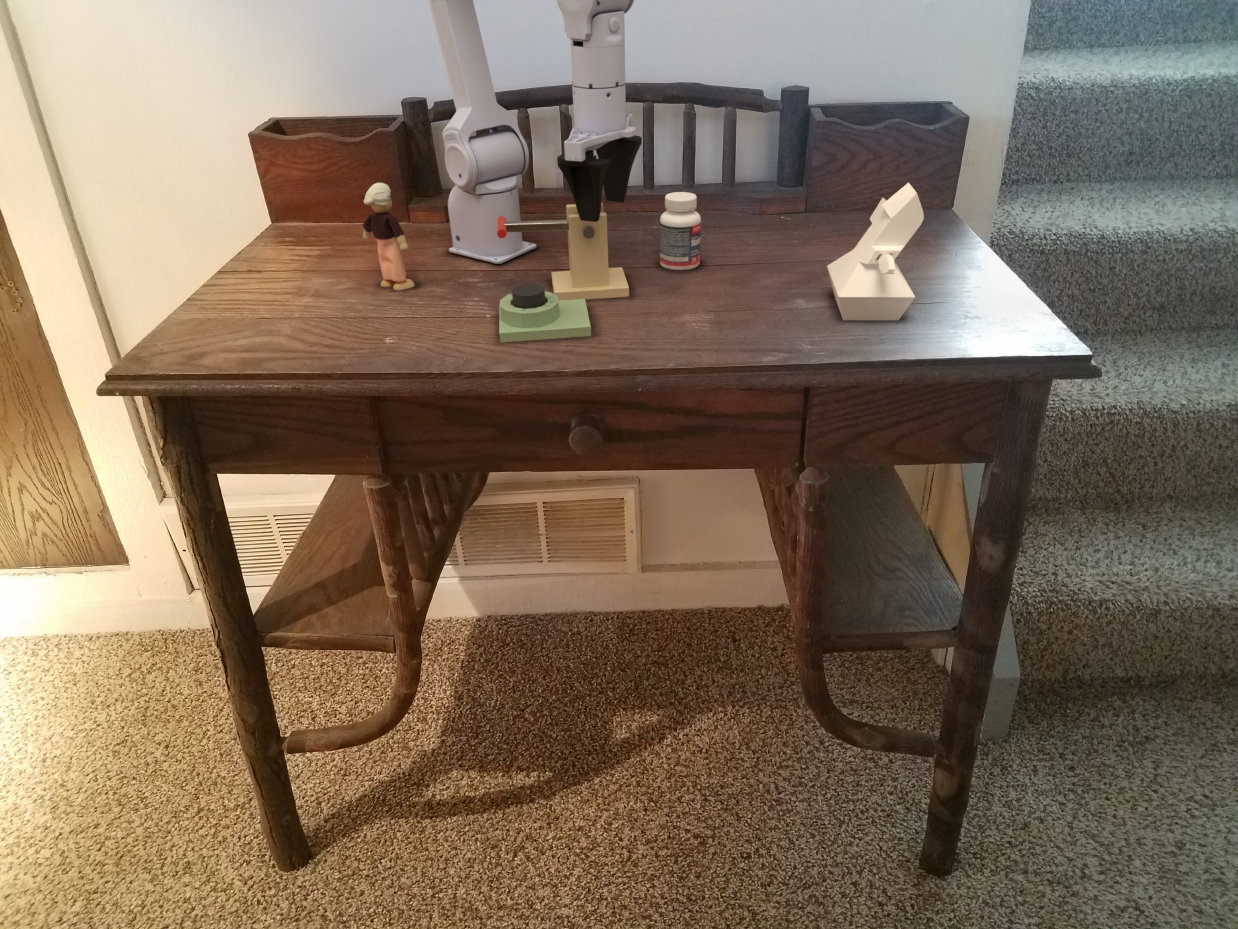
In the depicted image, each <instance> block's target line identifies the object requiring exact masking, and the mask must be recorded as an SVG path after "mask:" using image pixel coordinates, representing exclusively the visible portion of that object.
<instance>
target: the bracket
mask: <svg viewBox="0 0 1238 929" xmlns="http://www.w3.org/2000/svg"><path fill="white" fill-rule="evenodd" d="M565 209H566V210H565V211H566V212H565V213H566V220H569V231H567V243H568V244H567V245H568V247H567V248H568V260H569V261H568V262H569V263H568V264H569V270H560V271H551V272H550V273H551V284H552V291H553V292H552V293H553V294H554V295H556V296H558V301H560V300H575V299H585V300H598V299H599V300H600V299H610V298H611V299H613V298H626V297H630V286H629V284H628V281H627V278H626V274H625V271H624V268H623V267H621V266H620V267H609V242H608V215H607V212H604V203H603V202H601V213H600V217H599V220H598V221H597V222H591V221H582V220H580V217H579V214H574V213H575V212H578V211H577V208H576V204H575V203H571V204H566V205H565Z"/></svg>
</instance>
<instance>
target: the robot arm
mask: <svg viewBox="0 0 1238 929" xmlns="http://www.w3.org/2000/svg"><path fill="white" fill-rule="evenodd" d="M634 1H635V0H556V3H557V6H558V8H559V11H560V12H561V15H562V18H563V22H564V23H563V24H564V32H565V33H566V37H567V38H568V39H569V42H570V44H569V46H570V66H571V67H570V68H571V86H572V89H571V90H572V108H573V109H572V110H573V125H574V126H573V127H572V128H571V131H570V134H569V135H568V136H569V137H568V138H567V139H566V140H564V141H563V148H564V150H563V151H564V152H563V153H561V154H559V155H558V156H557V157H556V159H557V160H556V161H557V167H558V168H559V170H560V171H561V173H562V174H563V176H564V178H565V180H566V182H567V184H568V186H569V188H570V191H571V194H572V196H573V201H574V204H576V208H577V211H578V214H579V217H580V220H582V221H591V222H597V221H598V220H599V217H600V213H601V203H603V202H602V198H603V190H604V196H605V199H606V202H612V203H625V200H626V196H627V192H628V187H629V183H630V182H629V181H630V176H631V172H632V169H633V165H634V162H635V160H636V156H637V154H638V152H639V149H640V147H641V146H642V143H643V140H642V139H643V138H642V136H641V135H637V127H634V114H632V113H627V105H626V104H627V102H626V100H627V99H626V94H627V93H626V89H627V88H626V38H625V37H626V36H625V35H626V33H625V29H626V28H625V14H627V13H628V12H629V11H630V9H631V8H632V7H633V4H634ZM428 4H429V7H430V11H431V15H432V16H431V17H432V19H433V24H434V29H435V32H436V36H437V39H438V40H437V41H438V44H439V48H440V53H441V55H442V59H443V64H444V68H445V72H446V75H447V80H448V83H449V87H450V91H451V96H452V99H453V104H454V107H455V113H454V114H453V115H452V117H451V119H450V120H449V122H448V123H447V124H446V126H445V127H444V129H443V130H442V132H441V134H442V135H441V136H442V139H443V143H444V144H443V145H444V165H445V168H446V172H447V174H448V176H449V178H450V180H451V181H452V182H453V183H454V186H453V187H452V188H451V191H450V193H449V195H448V199H447V211H448V219H449V227H450V233H451V235H450V236H451V242H452V247H450V248H448V252H449V253H450V254H455V255H459V256H464V257H467V258H471V259H475V260H480V261H483V262H486V263H491V264H495V265H501V264H503V263H505V262H508V261H510V260H512V259H515V258H518V257H519V256H521V255H523V254H526V253H528V252H530V251H532V250H535V249H536V248H537V246H538V245H537V243H533V242H528V241H524V240H523V232H507V235H506V237H505V238H499V237H498V235H497V219H498V218H499V217H500V216H503V217H505V218H506V222H507V221H522V220H521V219H522V217H521V208H520V206H521V205H520V197H519V195H520V194H519V185H520V184H523V176H524V175H525V174H526V172H527V171H528V168H529V164H530V153H529V152H530V151H529V147H528V144H527V141H526V140H525V138H524V137H523V135H522V133H521V130H520V128H519V124H518V121H517V120H518V119H517V117H516V116H515V114H513V113H512V112H510V111H509V110H507V109H506V108H504V107H503V106H501V105H500V104H499V103H498V102H497V96H496V92H495V88H494V83H493V79H492V76H491V72H490V67H489V62H488V59H487V58H488V57H487V54H486V50H485V45H484V41H483V36H482V33H481V32H482V31H481V28H480V24H479V20H478V16H477V12H476V7H475V3H474V0H428ZM482 130H490V131H491V132H490V131H489V132H485V133H481V134H476V135H472V136H471V134H472V133H474V132H477V131H482ZM594 152H596V155H595V154H594Z"/></svg>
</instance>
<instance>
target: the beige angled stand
mask: <svg viewBox="0 0 1238 929" xmlns="http://www.w3.org/2000/svg"><path fill="white" fill-rule="evenodd" d="M924 216H925V215H924V210H923V206H922V204H921V201H920V197H919V195H918V192H917V191H916V189H914V187H913V186H912V184H910V182H907V183H905V185H904V186H902V187H901V188H900V189H899V190H897V191H896V192H895V193H894V194H892V195H891V196H890V197H889V198H888V199H886V198H884V197H881V199H880V201H879V202H878V204H877V206H876V207H875V209H874V211H873V212H872V214H871V216H870V217H869V221H870V222H871V225H870V226H869V227H868V228H867V229H866V232H865V233H864V234H863V235H862V237H861V238H860V240H859V241H858V242H857V244H856V245H855V246H854V248H853V249H851V250H850V251H848V252H846V253H845V254H843V255H842V256H841V257H839V258H837V259H835V260H833V261H832V262H831V263H829V264H828V265H826V268H827V272H828V276H829V281H830V284H831V288H832V292H833V296H834V299H835V302H836V305H837V308H838V310H839V313H840V316H841V318H842V321H900V319H901V318H902V316H903V315H904V314H905V313H906V311H907V310H908V309H909V307H910V306H911V304H912V303H913V301H914V300H915V299H916V296H915V293H914V292H913V290H912V289H911V287H910V285H909V282H908V281H907V280H906V278H905V276H904V274H903V273H902V271H901V269H900V267H899V265H898V264H897V263H896V262H895V260H896V259H897V257H898V256H899V254H900V253H901V252H902V250H903V249H904V248H905V246H906V245H907V244H908V242H909V241H910V240H911V238H912V237H914V235H915V234H916V232H917V231H918V229H919V228H920V226H921V225H922V223H923V221H924V219H925V217H924Z"/></svg>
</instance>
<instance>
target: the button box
mask: <svg viewBox="0 0 1238 929" xmlns="http://www.w3.org/2000/svg"><path fill="white" fill-rule="evenodd" d="M498 306H499V307H498V323H499V324H498V335H499V342H500V343H513V342H524V341H525V342H527V341H540V340H541V341H542V340H553V339H555V340H556V339H567V338H581V337H592V326H591V325H592V324H591V321H590V316H589V312H588V307H587V301H586V299H575V300H560V301H558V296H556V295H554V292H551V291H545V305H543V306H540V307H537V308H530V309H523V308H516V307H514V306H513V298H512V293H508V294H506V295H504V297H502V298H501V299H500V300H499V305H498Z"/></svg>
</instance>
